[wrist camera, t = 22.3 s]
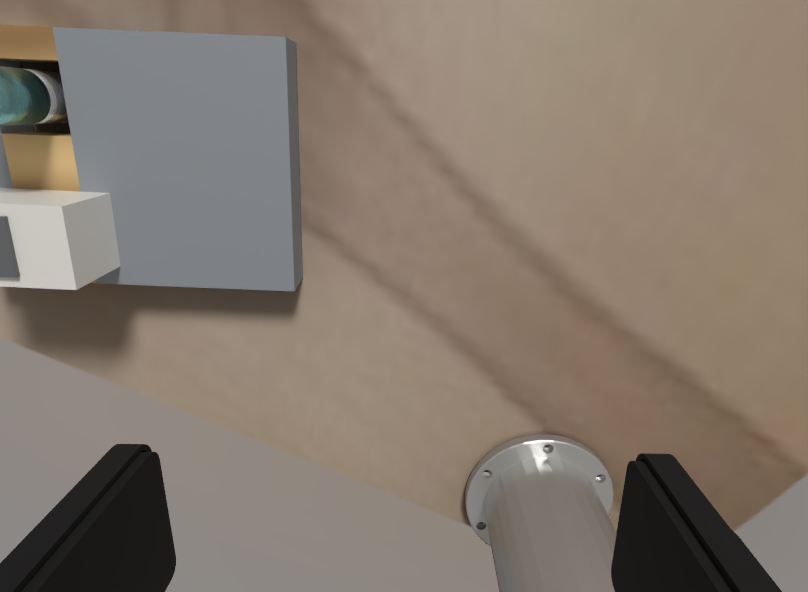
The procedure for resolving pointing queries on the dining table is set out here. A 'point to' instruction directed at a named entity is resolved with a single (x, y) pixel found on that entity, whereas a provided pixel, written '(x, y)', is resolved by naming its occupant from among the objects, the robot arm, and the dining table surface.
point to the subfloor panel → (172, 150)
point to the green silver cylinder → (31, 97)
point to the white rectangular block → (55, 238)
